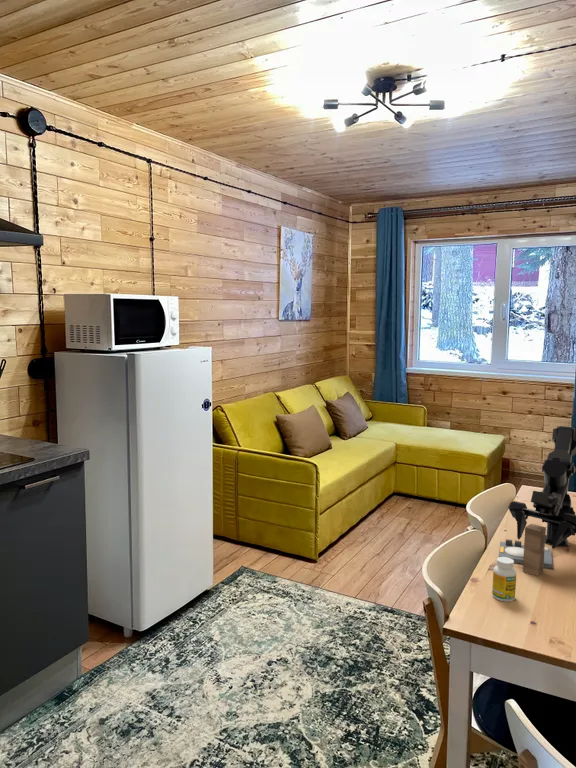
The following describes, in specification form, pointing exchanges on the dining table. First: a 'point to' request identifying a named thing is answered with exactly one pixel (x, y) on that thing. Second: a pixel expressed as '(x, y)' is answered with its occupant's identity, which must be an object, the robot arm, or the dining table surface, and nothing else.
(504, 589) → the supplement bottle
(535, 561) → the post
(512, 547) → the panel
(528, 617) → the dining table surface
